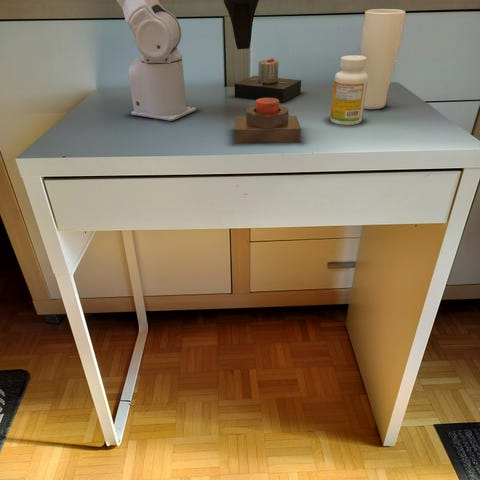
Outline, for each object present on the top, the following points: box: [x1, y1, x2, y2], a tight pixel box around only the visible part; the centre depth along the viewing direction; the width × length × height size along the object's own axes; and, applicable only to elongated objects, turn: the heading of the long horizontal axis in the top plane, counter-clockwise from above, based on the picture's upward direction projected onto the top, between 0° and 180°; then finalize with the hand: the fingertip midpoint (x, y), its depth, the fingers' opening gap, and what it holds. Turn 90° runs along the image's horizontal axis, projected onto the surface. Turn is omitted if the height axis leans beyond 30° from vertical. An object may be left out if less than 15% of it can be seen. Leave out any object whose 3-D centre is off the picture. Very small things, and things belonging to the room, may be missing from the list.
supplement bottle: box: [330, 54, 368, 126], centre depth 76 cm, size 5×5×10 cm
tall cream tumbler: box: [359, 8, 406, 110], centre depth 81 cm, size 7×7×15 cm
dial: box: [257, 57, 280, 84], centre depth 91 cm, size 4×4×4 cm
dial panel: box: [234, 75, 302, 104], centre depth 93 cm, size 11×8×3 cm
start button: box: [255, 98, 280, 114], centre depth 70 cm, size 4×4×2 cm
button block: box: [234, 104, 302, 145], centre depth 72 cm, size 10×7×4 cm
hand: (243, 48), depth 77 cm, fingers closed
